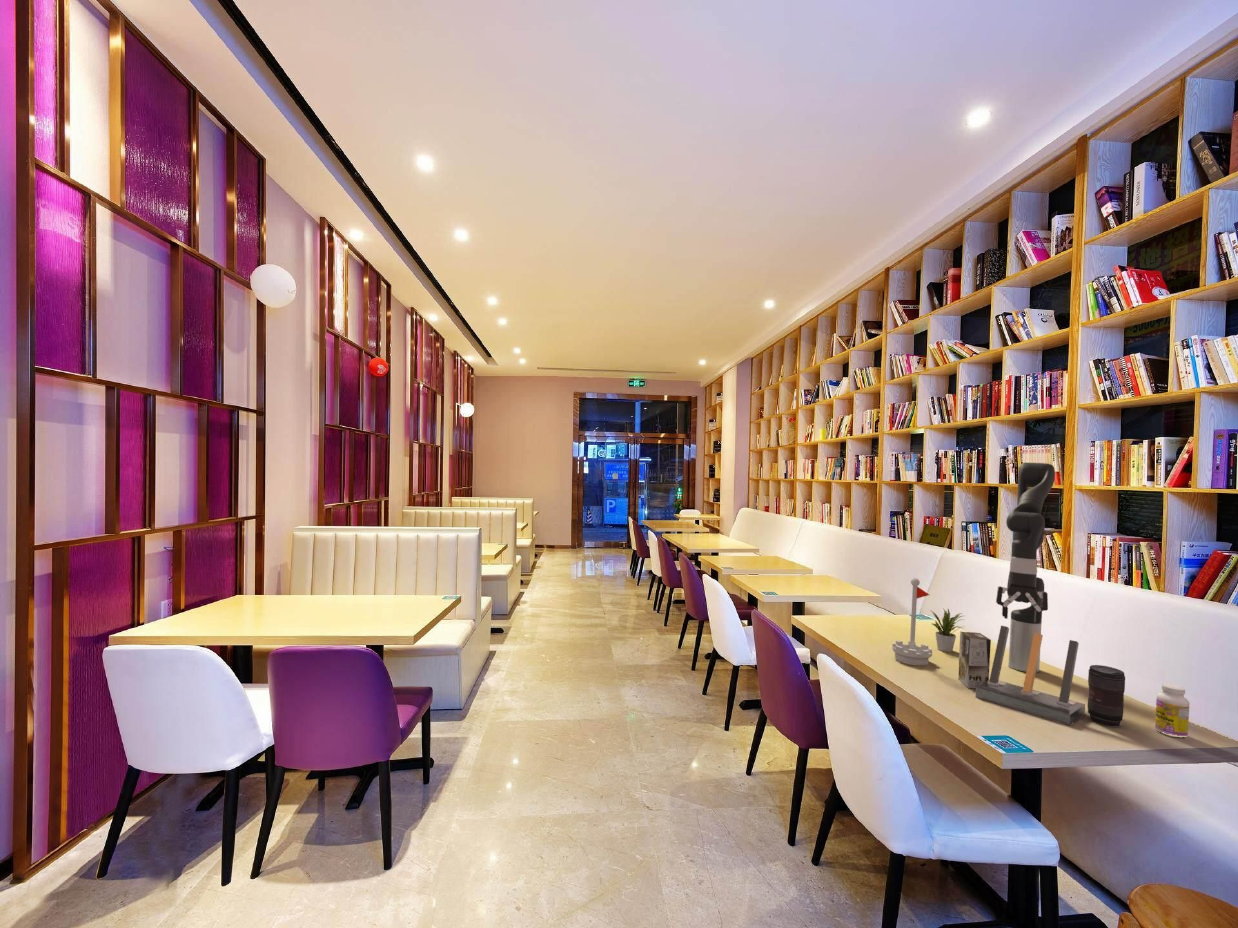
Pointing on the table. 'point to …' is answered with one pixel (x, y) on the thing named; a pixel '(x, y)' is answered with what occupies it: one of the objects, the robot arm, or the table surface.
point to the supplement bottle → (1172, 711)
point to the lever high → (1068, 674)
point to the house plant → (946, 631)
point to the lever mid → (1032, 665)
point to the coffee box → (974, 659)
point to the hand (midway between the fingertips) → (1020, 620)
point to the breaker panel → (1031, 702)
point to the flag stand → (913, 636)
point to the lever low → (998, 657)
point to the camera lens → (1106, 695)
